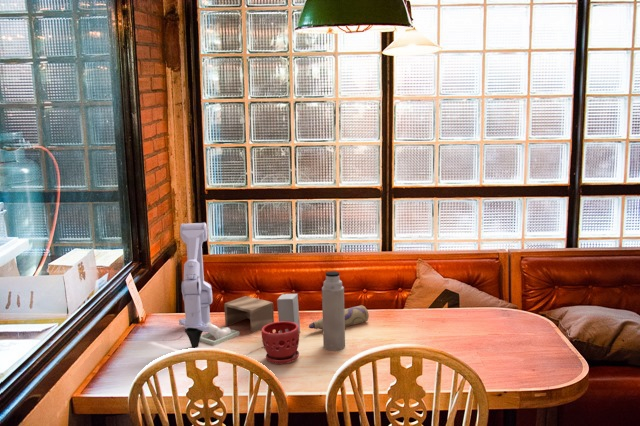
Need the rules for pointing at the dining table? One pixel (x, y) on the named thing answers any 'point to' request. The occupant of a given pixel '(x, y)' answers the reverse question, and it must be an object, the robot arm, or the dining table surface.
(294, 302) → the skincare box
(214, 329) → the white rounded piece
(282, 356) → the plant pot
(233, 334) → the tray
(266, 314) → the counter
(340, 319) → the thermos bottle
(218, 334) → the pale pink rounded cylinder
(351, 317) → the decorative bottle
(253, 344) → the dining table surface
